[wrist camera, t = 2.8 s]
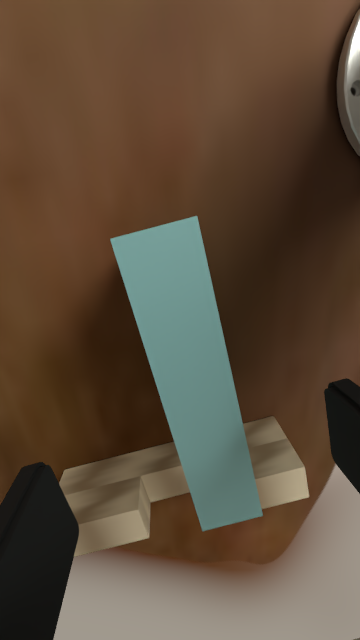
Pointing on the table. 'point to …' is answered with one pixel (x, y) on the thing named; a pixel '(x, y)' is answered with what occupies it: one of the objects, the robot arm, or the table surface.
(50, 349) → the table surface
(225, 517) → the cross plate
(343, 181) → the table surface
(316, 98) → the table surface
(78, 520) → the slotted board
